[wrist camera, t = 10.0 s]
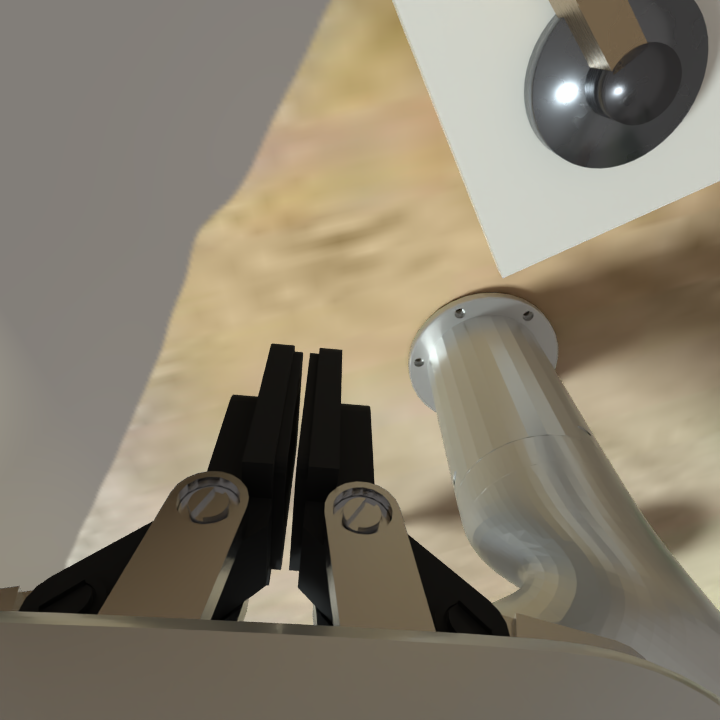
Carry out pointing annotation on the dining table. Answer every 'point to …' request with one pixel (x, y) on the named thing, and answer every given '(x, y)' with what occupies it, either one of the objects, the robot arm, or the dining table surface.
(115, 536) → the dining table surface
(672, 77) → the cam dial
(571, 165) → the base plate
